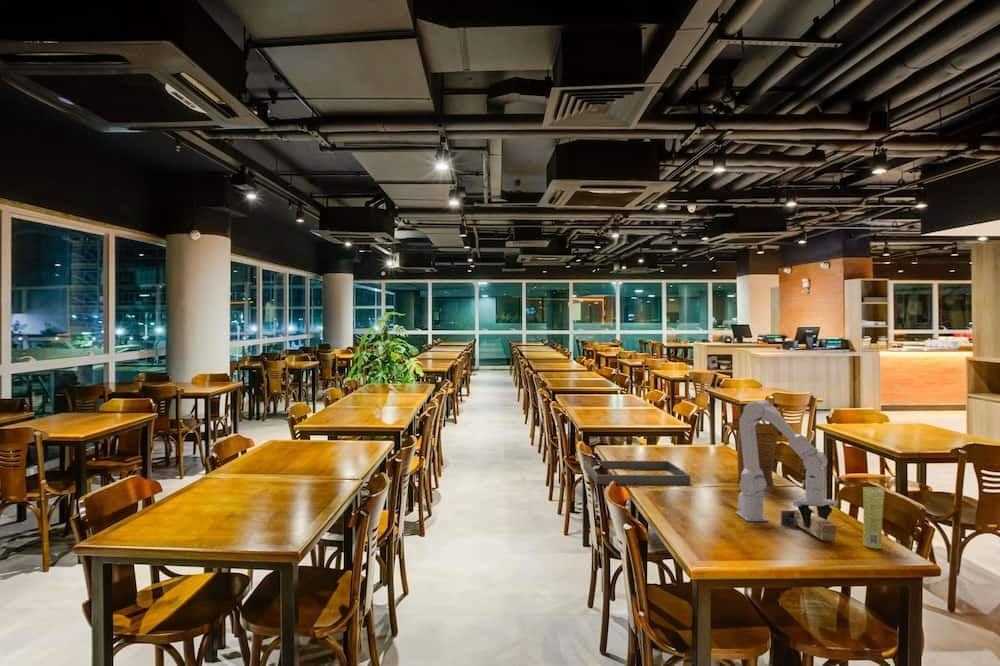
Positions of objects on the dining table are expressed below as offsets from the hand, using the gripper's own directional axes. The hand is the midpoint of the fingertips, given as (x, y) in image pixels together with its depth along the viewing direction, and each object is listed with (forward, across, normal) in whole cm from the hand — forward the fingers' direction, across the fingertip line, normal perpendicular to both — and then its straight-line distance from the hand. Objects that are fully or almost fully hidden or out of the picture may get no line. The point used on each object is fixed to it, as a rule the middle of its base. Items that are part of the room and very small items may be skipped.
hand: (813, 526), depth 195 cm
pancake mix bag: (+3, +13, +63) cm, 64 cm away
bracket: (+3, 0, +8) cm, 8 cm away
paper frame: (+3, -40, +76) cm, 86 cm away
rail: (+2, 0, 0) cm, 2 cm away
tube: (+3, +13, -11) cm, 17 cm away
